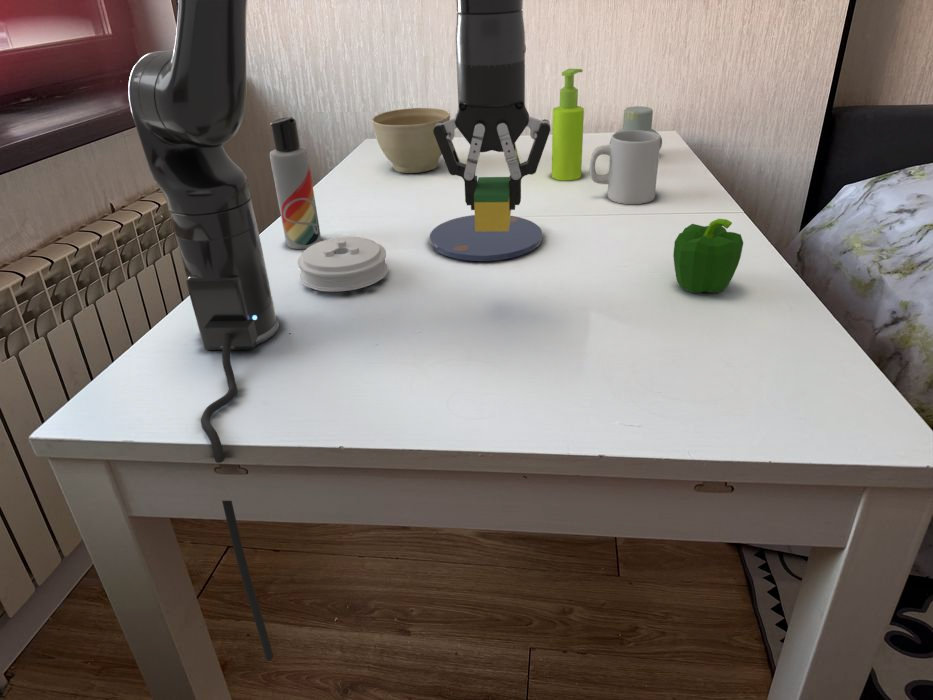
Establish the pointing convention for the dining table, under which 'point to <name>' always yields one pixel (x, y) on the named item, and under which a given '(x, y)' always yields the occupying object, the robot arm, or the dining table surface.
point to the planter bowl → (410, 137)
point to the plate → (484, 239)
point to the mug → (629, 166)
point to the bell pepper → (707, 256)
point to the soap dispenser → (567, 132)
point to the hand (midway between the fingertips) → (493, 207)
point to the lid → (342, 264)
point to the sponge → (492, 204)
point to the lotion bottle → (294, 186)
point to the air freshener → (638, 120)
